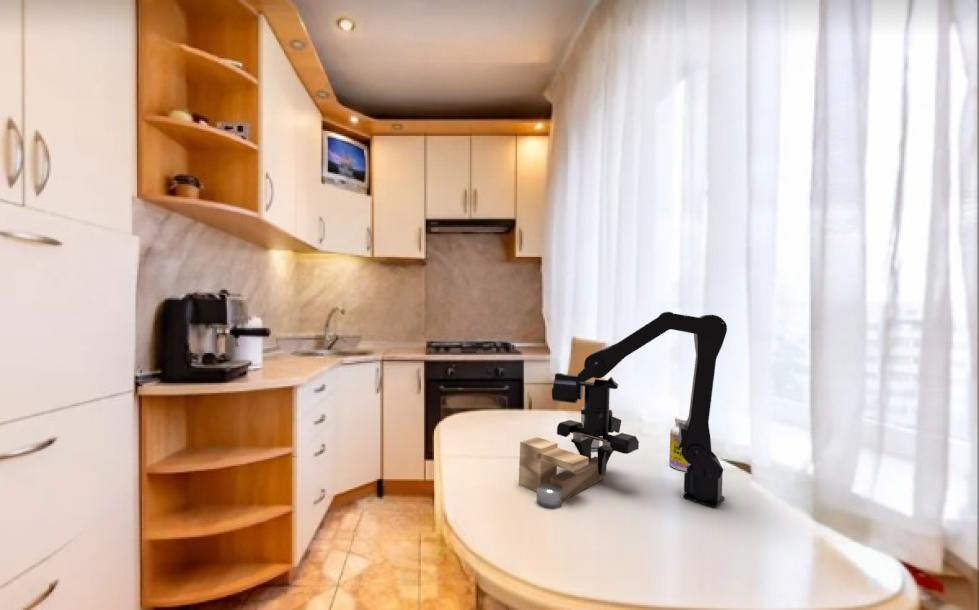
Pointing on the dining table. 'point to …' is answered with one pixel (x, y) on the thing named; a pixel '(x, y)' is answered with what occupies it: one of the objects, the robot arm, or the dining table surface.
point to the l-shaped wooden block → (545, 462)
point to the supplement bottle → (675, 452)
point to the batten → (578, 478)
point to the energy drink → (595, 442)
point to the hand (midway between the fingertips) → (594, 472)
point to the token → (549, 495)
